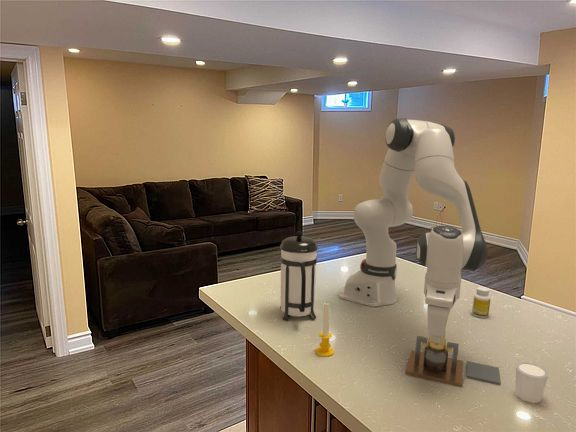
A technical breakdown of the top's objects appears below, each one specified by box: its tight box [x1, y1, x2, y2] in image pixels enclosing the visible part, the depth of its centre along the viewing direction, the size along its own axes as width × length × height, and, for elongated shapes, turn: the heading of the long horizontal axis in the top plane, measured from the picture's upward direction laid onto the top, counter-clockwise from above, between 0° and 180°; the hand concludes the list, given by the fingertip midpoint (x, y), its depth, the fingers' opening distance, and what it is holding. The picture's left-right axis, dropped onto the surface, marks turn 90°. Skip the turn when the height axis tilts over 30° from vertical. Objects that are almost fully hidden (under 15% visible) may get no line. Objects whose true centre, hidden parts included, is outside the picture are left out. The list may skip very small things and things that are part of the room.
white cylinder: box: [515, 362, 549, 404], centre depth 103 cm, size 7×7×7 cm
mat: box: [466, 360, 501, 386], centre depth 113 cm, size 8×8×1 cm
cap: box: [421, 329, 453, 353], centre depth 113 cm, size 8×4×6 cm, turn 66°
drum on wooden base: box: [405, 335, 464, 388], centre depth 114 cm, size 14×12×8 cm
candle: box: [315, 301, 335, 358], centre depth 121 cm, size 5×5×16 cm
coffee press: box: [279, 230, 319, 322], centre depth 144 cm, size 17×16×30 cm
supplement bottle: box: [471, 286, 491, 319], centre depth 149 cm, size 5×5×10 cm
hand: (437, 337), depth 113 cm, fingers closed on cap, 4 cm apart
